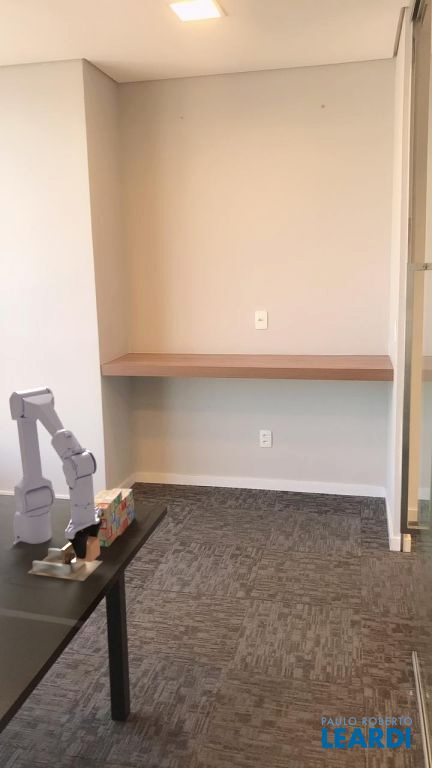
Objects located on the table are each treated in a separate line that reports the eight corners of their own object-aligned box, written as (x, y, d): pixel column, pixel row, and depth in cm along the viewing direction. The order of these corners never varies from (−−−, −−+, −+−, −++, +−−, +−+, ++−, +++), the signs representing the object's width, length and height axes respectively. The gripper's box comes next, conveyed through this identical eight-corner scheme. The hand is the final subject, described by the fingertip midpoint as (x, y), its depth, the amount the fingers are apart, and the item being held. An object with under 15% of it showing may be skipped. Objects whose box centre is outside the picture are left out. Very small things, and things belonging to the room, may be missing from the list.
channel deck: (27, 576, 156) (26, 563, 155) (49, 557, 165) (48, 545, 165) (83, 584, 152) (82, 571, 151) (103, 564, 161) (102, 552, 160)
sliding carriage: (62, 570, 156) (60, 549, 154) (73, 560, 160) (71, 540, 159) (75, 572, 155) (73, 551, 153) (85, 562, 159) (83, 542, 158)
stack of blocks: (115, 516, 190) (112, 478, 188) (135, 518, 189) (132, 479, 187) (87, 549, 170) (83, 506, 167) (109, 551, 169) (106, 507, 166)
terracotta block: (75, 560, 154) (74, 543, 153) (84, 551, 158) (83, 535, 157) (91, 562, 153) (90, 545, 152) (100, 553, 157) (99, 537, 156)
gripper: (82, 515, 145) (86, 569, 148) (110, 492, 158) (114, 542, 161) (55, 512, 147) (59, 565, 150) (85, 489, 160) (89, 539, 163)
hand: (86, 553), depth 156 cm, fingers closed on terracotta block, 4 cm apart
